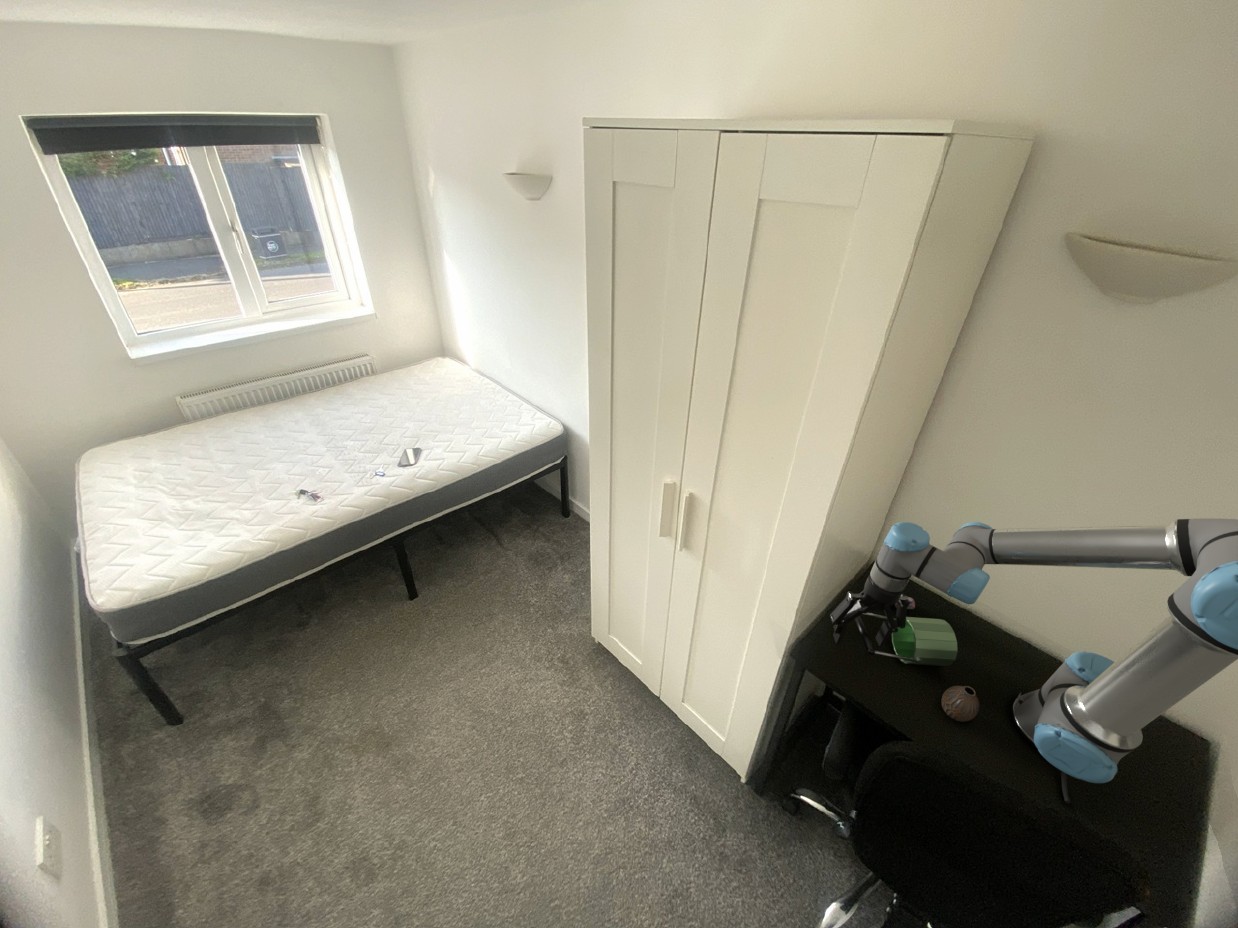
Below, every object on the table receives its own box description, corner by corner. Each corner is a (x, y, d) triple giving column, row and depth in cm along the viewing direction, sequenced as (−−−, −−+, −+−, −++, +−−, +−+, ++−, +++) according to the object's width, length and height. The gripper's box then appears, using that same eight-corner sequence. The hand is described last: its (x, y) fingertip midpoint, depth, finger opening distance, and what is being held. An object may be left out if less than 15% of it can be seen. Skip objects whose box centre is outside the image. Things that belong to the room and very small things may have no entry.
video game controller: (871, 604, 144) (878, 597, 138) (873, 589, 146) (881, 582, 140) (909, 615, 141) (918, 609, 135) (911, 600, 143) (920, 593, 137)
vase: (968, 732, 113) (985, 711, 108) (934, 714, 117) (950, 693, 111) (972, 709, 118) (989, 688, 113) (940, 692, 121) (955, 670, 116)
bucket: (939, 606, 129) (854, 600, 129) (966, 652, 118) (873, 646, 118) (922, 633, 135) (841, 627, 135) (946, 679, 124) (858, 673, 124)
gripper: (929, 571, 117) (896, 630, 130) (831, 565, 118) (808, 625, 131) (945, 596, 111) (908, 656, 124) (842, 590, 112) (816, 651, 125)
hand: (857, 640), depth 127 cm, fingers open, 10 cm apart
